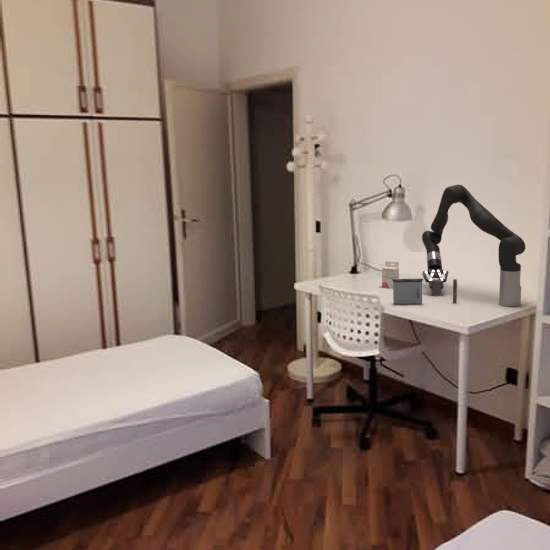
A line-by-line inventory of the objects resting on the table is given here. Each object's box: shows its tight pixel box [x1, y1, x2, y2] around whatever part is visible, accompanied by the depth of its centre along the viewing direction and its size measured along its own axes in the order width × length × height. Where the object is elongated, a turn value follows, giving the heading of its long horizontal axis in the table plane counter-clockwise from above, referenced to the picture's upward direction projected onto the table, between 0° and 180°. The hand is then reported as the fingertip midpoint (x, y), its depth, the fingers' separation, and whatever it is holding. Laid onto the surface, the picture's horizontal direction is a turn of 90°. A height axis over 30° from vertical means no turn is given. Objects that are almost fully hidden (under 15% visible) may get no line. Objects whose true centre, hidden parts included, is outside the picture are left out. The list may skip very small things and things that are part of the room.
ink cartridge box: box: [381, 261, 400, 289], centre depth 327 cm, size 9×5×15 cm, turn 56°
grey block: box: [394, 281, 423, 305], centre depth 289 cm, size 14×2×11 cm, turn 82°
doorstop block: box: [430, 278, 442, 297], centre depth 306 cm, size 5×5×8 cm
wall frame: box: [392, 278, 458, 303], centre depth 289 cm, size 32×4×13 cm, turn 82°
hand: (436, 288), depth 304 cm, fingers closed on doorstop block, 4 cm apart
